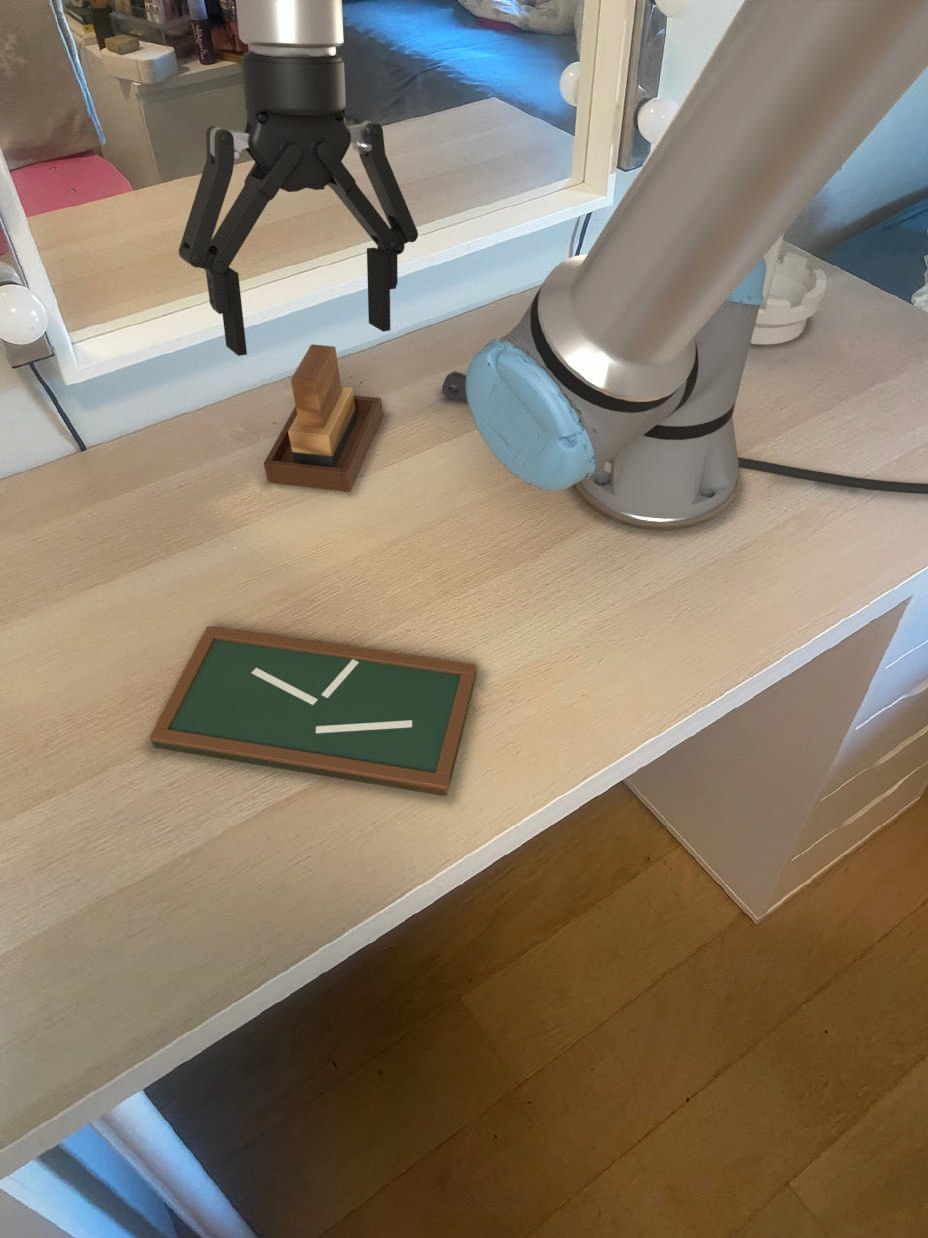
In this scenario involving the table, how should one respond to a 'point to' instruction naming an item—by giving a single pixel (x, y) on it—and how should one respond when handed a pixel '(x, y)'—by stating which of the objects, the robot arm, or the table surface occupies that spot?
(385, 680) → the chalkboard
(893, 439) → the table surface
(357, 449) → the shallow brown tray
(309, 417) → the eraser
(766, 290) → the flag stand
